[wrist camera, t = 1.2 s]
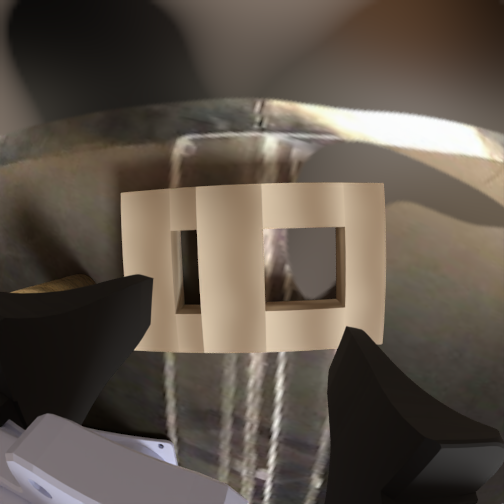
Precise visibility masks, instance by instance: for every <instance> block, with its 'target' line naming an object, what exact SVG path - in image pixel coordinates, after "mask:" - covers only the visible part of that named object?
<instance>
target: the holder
mask: <svg viewBox="0 0 504 504" xmlns="http://www.w3.org/2000/svg"><path fill="white" fill-rule="evenodd" d="M121 227H122V249H123V266H124V277H125V276H130V275H135V274H141V275H144V276H148V277H151V278H154V279H153V293H152V309H151V325H150V326H149V328H148V330H147V332H146V333H145V335H144V337H143V338H142V340H141V341H140V343H139V344H138V346H137V347H136V348H135V349H134V350H140V351H159V352H187V353H258V352H287V351H306V350H322V349H335V348H338V346H339V344H340V341H341V339H342V336H343V333H344V331H345V328H346V326H348V327H353V328H358V329H362V330H363V331H365V332H366V333H367V334H368V336H369V337H370V338H371V339H372V340H373V341H374V342H375V343H376V344H382V341H383V328H384V311H385V286H386V222H385V198H384V183H265V184H238V185H217V186H200V187H185V188H171V189H158V190H147V191H136V192H125V193H121ZM311 227H313V228H314V227H336V299H323V300H302V301H277V302H265V281H264V248H263V229H277V228H311ZM181 230H197V245H198V266H199V285H200V301H201V305H185V300H184V285H183V269H182V249H181Z"/></svg>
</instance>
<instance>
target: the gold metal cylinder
mask: <svg viewBox="0 0 504 504" xmlns="http://www.w3.org/2000/svg"><path fill="white" fill-rule="evenodd" d="M94 284H96V283H95V282H94V281H93V280H92V279H91V278H90V277H88V276H87V275H84V274H76V275H72V276H68V277H65V278H61V279H57V280H54V281H50V282H46V283H43V284H39V285H35V286H32V287H28V288H24V289H21V290H17V291H14V292H10V293H46V292H55V291H64V290H70V289H75V288H80V287H84V286H89V285H94Z"/></svg>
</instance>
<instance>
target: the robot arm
mask: <svg viewBox="0 0 504 504" xmlns="http://www.w3.org/2000/svg"><path fill="white" fill-rule="evenodd" d="M153 279H154V278H151V277H148V276H144V275H141V274H135V275H130V276H125V277H121V278H117V279H113V280H109V281H106V282H102V283H98V284H94V285H89V286H84V287H80V288H75V289H70V290H64V291H55V292H46V293H7V292H0V504H249V503H248V501H247V500H246V499H245V498H244V497H243V496H242V495H240V494H239V493H238V492H236V491H235V490H234V489H232V488H231V487H230V486H229V485H227V484H226V483H223V482H221V481H218V480H216V479H213V478H211V477H208V476H206V475H203V474H201V473H199V472H196V471H192V470H189V469H186V468H183V467H180V466H178V464H177V459H176V455H175V450H174V445H173V443H172V442H171V441H168V440H161V439H152V438H145V437H137V436H130V435H124V434H118V433H112V432H106V431H101V430H96V429H91V428H86V427H83V426H81V425H82V423H83V421H84V419H85V418H86V416H87V414H88V412H89V410H90V409H91V407H92V405H93V403H94V402H95V400H96V399H97V397H98V395H99V394H100V392H101V390H102V389H103V387H104V386H105V385H106V383H107V382H108V381H109V379H110V378H111V377H112V376H113V374H114V373H115V372H116V371H117V370H118V368H119V367H120V366H121V365H122V364H123V362H124V361H125V360H126V359H127V358H128V357H129V355H130V354H131V353H132V352H133V350H134V349H135V348H136V347H137V346H138V344H139V343H140V341H141V340H142V338H143V337H144V335H145V333H146V332H147V330H148V328H149V326H150V325H151V309H152V293H153ZM327 395H328V410H329V424H330V439H331V453H330V465H329V476H328V484H327V492H326V498H325V504H476V503H477V501H478V498H477V495H476V491H477V490H478V489H479V488H480V487H481V486H482V485H483V484H485V483H486V482H487V481H488V480H489V479H490V478H491V477H492V476H493V475H494V474H495V472H496V471H497V470H498V469H499V468H500V467H501V465H502V463H503V461H504V441H503V439H502V437H501V435H500V433H499V431H498V430H497V429H495V428H492V427H490V426H487V425H484V424H482V423H479V422H477V421H474V420H472V419H470V418H468V417H466V416H464V415H462V414H460V413H458V412H456V411H454V410H453V409H451V408H449V407H447V406H446V405H444V404H443V403H441V402H440V401H438V400H436V399H435V398H433V397H432V396H431V395H429V394H428V393H426V392H425V391H424V390H423V389H421V388H420V387H419V386H418V385H416V384H415V383H414V382H413V381H412V380H411V379H409V378H408V377H407V376H406V375H405V374H404V373H403V372H402V371H401V370H400V369H399V368H398V367H397V366H396V365H395V364H394V363H393V362H392V361H391V360H390V359H389V358H388V357H387V356H386V354H385V353H384V352H383V351H382V350H381V349H380V348H379V347H378V345H377V344H376V343H375V342H374V341H373V340H372V339H371V338H370V337H369V336H368V334H367V333H366V332H365V331H363V330H362V329H358V328H353V327H348V326H346V328H345V331H344V333H343V336H342V339H341V341H340V344H339V346H338V349H337V351H336V354H335V356H334V359H333V361H332V364H331V366H330V369H329V375H328V390H327ZM160 444H162V445H163V446H161V445H160Z"/></svg>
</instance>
